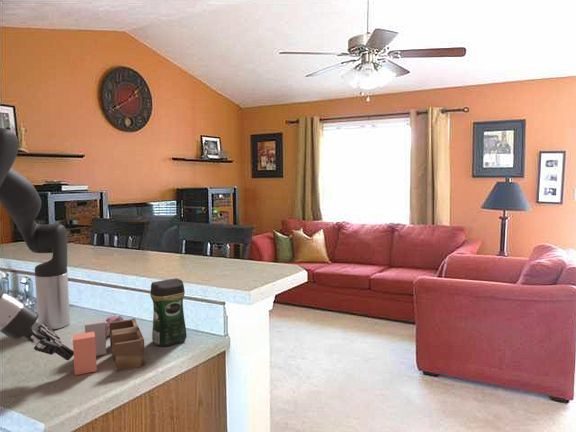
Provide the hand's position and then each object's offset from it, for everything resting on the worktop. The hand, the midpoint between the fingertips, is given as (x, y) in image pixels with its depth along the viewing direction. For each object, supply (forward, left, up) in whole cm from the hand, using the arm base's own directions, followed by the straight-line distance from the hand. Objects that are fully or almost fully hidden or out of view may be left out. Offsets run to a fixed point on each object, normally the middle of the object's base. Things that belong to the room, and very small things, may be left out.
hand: (71, 356), depth 110 cm
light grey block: (-10, +6, -4) cm, 12 cm away
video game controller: (-24, +10, -5) cm, 26 cm away
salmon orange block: (0, +3, -4) cm, 5 cm away
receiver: (-5, +14, -4) cm, 15 cm away
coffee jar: (-10, +26, -5) cm, 28 cm away
